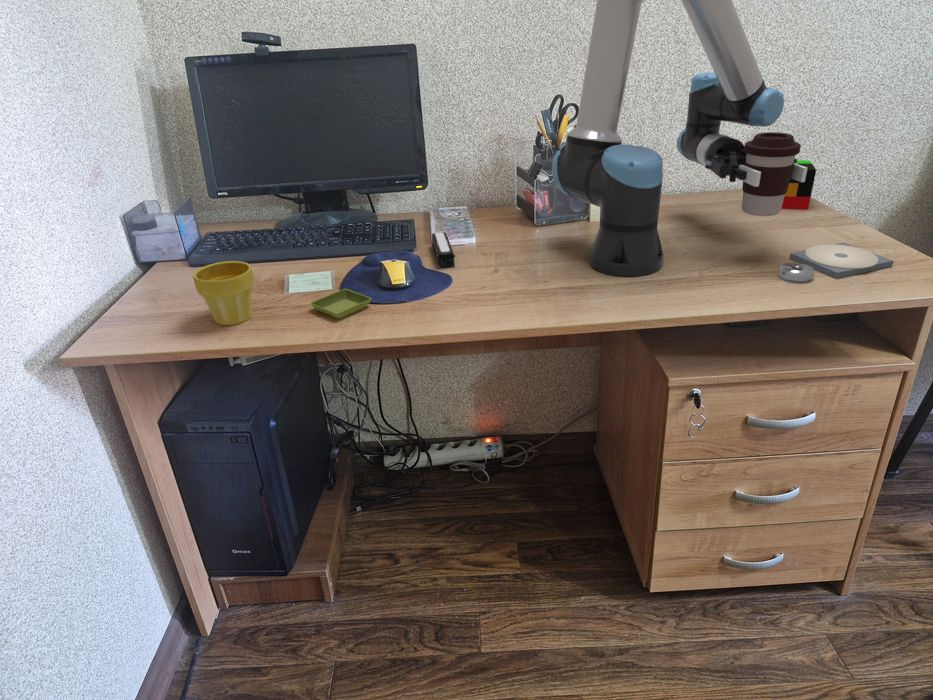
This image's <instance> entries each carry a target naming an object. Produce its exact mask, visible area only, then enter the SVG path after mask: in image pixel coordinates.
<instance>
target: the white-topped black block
mask: <svg viewBox="0 0 933 700" xmlns="http://www.w3.org/2000/svg"><path fill="white" fill-rule="evenodd" d="M431 243H432V245H431V247H432V249H433V253H434V255H435V259H436V263H437V265H438V270H441V269H451V268H452V269H453V268H455V267H456V265H455V258H456V255H455V253H454V251H453V248H452V244H451V242H450V239H449V237H448V235H447V232H443V231H442V232H433V233H431Z"/></svg>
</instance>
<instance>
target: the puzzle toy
mask: <svg viewBox="0 0 933 700" xmlns="http://www.w3.org/2000/svg"><path fill="white" fill-rule="evenodd" d="M796 164H798V165H801V166H804V167H807V168H808V169H807V173H806V178H805V182H799V181H797V180H794V179H791V178H790V182H789V186H788V190H787V193H786V194H785V196H784V200H783V204H782V207H781V210H801V211H802V210H804V211H805V210H809V206H810V203H811V198H812V197H811V196H812V193H813V188H814V182H815V179H816V174H817V169H816V167H815V165H814V164H813V163H812V162H811V160H808V159H807V160H802V159H801V160H800V159H797V163H796Z"/></svg>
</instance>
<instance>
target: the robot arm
mask: <svg viewBox="0 0 933 700" xmlns="http://www.w3.org/2000/svg"><path fill="white" fill-rule="evenodd" d="M644 1H645V0H597V1H596V5H595V12H594V19H593V23H592V29H591V36H590V42H589V48H588V52H587V60H586V64H585V65H586V66H585V72H584V76H583V77H584V79H583V83H582V90H581V95H580V102H579V106H578V107H579V108H578V111H577V112H578V113H577V119H576V125H575V127H574V128H573V129H571V130H570V131H569V132H567V135H566V136H567V137H566V142H565V143H563V144H561V146H560V147H559V150H557V151H556V152H555V154H554V157H553V160H552V165H551V174H552V179H553V182H554V184H555V186H556V187H557V188H558V190H559V191H560V192H561V193H563V194H565V195H567V196H568V197H570V198H572V199H574V200H577V201H581V202H585V203H588V204H590V205H593V206H595V207H599V209H600V211H599V228H598V231H597V233H596V235H595V238H594V241H593V244H592V246H591V249H590V251H589V265H590V267H592V268H593V269H595V270H596V271H598V272H600V273H603V274H608V275H611V276H612V275H613V276H618V277H619V276H620V277H621V276H622V277H625V276H626V277H634V276H637V277H638V276H644V275H649V274H653V273H655V272H657V271H659V270H660V269H662V267H663V264H664V251H663V247H662V243H661V238H660V235H659V232H658V231H659V230H658V223H659V215H660V214H659V213H660V204H661V195H662V187H663V180H664V172H663V169H664V168H663V166H664V164H663V158H662V155H660V153H658V151H656V150H654V149H652V148H649V147H646V146H644V145H643V146H642V145H633V144H623V139H622V138H621V136H620V134H619V133H618V127H619V123H620V116H621V111H622V107H623V106H622V105H623V101H624V95H625V92H626V91H625V90H626V86H627V85H626V84H627V81H628V75H629V69H630V63H631V59H632V56H633V55H632V54H633V48H634V43H635V39H636V33H637V28H638V23H639V18H640V17H639V16H640V12H641V6H642V3H643V2H644ZM681 2H682V4H683V7H684V10H685V11H686V13H687V15H688V17H689V20H690V22H691V25H692V26H693V29H694V31H695V32H696V35H697V36H698V39H699V42H700V45H701V46H702V48H703V50H704V53H705V55H706V57H707V60H708V61H709V63H710V65H711V68H712V70H713V72H700V73H696V74H695V75H693V77H692V79H691V84H690V90H689V93H688V96H689V97H688V104H687V105H688V106H687V116H686V124H685V128H684V129H683V130H681V132H680V133H679V135H678V137H677V138H676V149H677V152H678V153H679V154H680V155H681V156H683V157H684V158H685V159H687V160H689V161H691V162H695V163H696V164H699V165H702V166H704V168H705V169H708V170H710V171H711V172H713V173H714V174H715V175H716V176H717V177H719V179H727V177H729V180H728V181H729V182H730V183H735V182H736V181H737V180H739V181H741V182H742V183H743V182H745V183H748V184H750V185H752V186H755V187H758V186H759V182H760V176H761V172H760V171H757V170H755V169H752V168H749V167H747V166H744V165H745V161H746V156H747V153H745V152H744V146H745V144H744V143H743V142H742V141H741V140H739V139H737V138H735V137H734V138H733V137H731V136H728V135H725V134H722V133H720V130H721V129H720V128H721V122H728V123H734V124H737V125H738V124H739V125H745V126H749V127H761V128H762V127H765V128H766V127H767V128H768V127H770V126H772V125H773V124H776V122H777V120H778V119H779V118H780V116H781V115H782V113H783V111H784V107H785V97H784V95H783V93H782V91H780V90H779V89H777V88H773V87H768V86H766V82H765V81H764V79H763V76H762V72H761V71H760V67H759V65H758V63H757V61H756V60H757V59H756V58H755V55H754V53H753V50H752V48H751V45H750V43H749V40H748V37H747V35H746V32H745V30H744V27H743V26H742V25H743V24H742V23H741V22H742V21H741V20H740V17H739V15H738V12H737V10H736V7H735V5H734V2H733V0H681ZM797 160H798V158H795V159H794V167H793V171H792V175H791V179H794V180H797V181H799V182H805V178H806V173H807V169H808V168H807V167H804V166H801V165H798V164H796V163H797Z"/></svg>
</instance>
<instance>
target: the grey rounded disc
mask: <svg viewBox="0 0 933 700" xmlns="http://www.w3.org/2000/svg"><path fill="white" fill-rule="evenodd" d="M814 274H815V269H814V268H812V267H811V266H808V265H805V264H801V263H798V262H787V263H783V264H781V265H780V266H779V270H778V278H779V279H781V280H783V281H785V282H788V283H791V284H792V283H794V284H805V283H806V284H807V283H809V282H812V281H813V278H814Z"/></svg>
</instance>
